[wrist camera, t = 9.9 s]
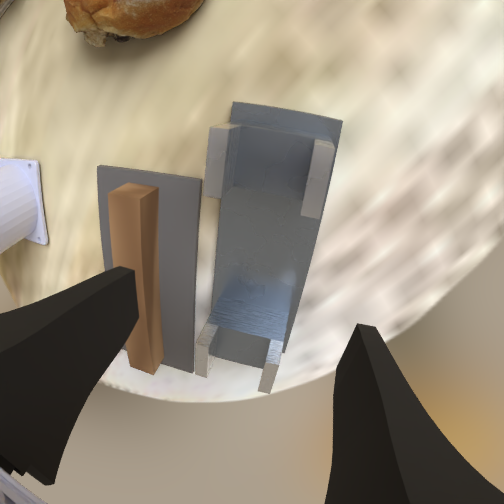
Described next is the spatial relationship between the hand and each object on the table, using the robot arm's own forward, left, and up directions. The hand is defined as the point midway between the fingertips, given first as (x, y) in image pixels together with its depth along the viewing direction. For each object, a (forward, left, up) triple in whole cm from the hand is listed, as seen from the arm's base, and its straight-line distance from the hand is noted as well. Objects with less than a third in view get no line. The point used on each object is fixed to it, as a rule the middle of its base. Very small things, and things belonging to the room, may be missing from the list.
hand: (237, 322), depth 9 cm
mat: (-9, -8, -10) cm, 16 cm away
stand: (0, -2, -10) cm, 11 cm away
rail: (-9, -8, -10) cm, 16 cm away
